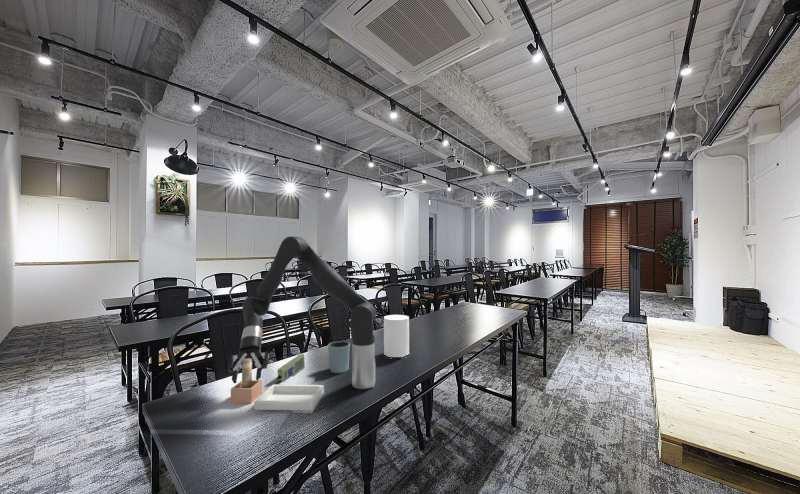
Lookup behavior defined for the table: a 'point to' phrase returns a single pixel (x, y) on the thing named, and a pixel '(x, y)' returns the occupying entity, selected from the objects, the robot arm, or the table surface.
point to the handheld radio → (291, 368)
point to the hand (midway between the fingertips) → (246, 380)
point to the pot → (246, 392)
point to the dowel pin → (247, 373)
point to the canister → (396, 335)
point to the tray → (290, 398)
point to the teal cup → (339, 356)
